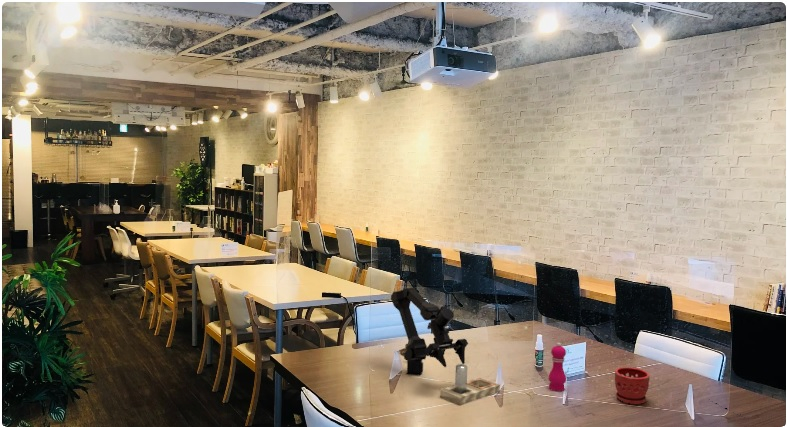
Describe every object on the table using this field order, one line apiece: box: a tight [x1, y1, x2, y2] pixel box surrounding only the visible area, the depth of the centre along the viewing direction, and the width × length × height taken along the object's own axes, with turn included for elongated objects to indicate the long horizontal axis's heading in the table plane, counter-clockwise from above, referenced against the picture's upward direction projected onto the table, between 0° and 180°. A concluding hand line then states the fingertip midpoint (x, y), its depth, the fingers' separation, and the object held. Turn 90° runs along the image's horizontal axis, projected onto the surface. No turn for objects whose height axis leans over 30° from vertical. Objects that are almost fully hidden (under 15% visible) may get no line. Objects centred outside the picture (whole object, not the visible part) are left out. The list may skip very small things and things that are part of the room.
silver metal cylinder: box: [454, 363, 468, 394], centre depth 254 cm, size 5×5×13 cm
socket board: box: [439, 377, 501, 406], centre depth 258 cm, size 24×11×3 cm, turn 131°
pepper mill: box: [548, 342, 567, 392], centre depth 267 cm, size 7×7×20 cm
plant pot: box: [614, 366, 650, 405], centre depth 256 cm, size 13×13×12 cm
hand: (454, 365), depth 258 cm, fingers open, 9 cm apart
